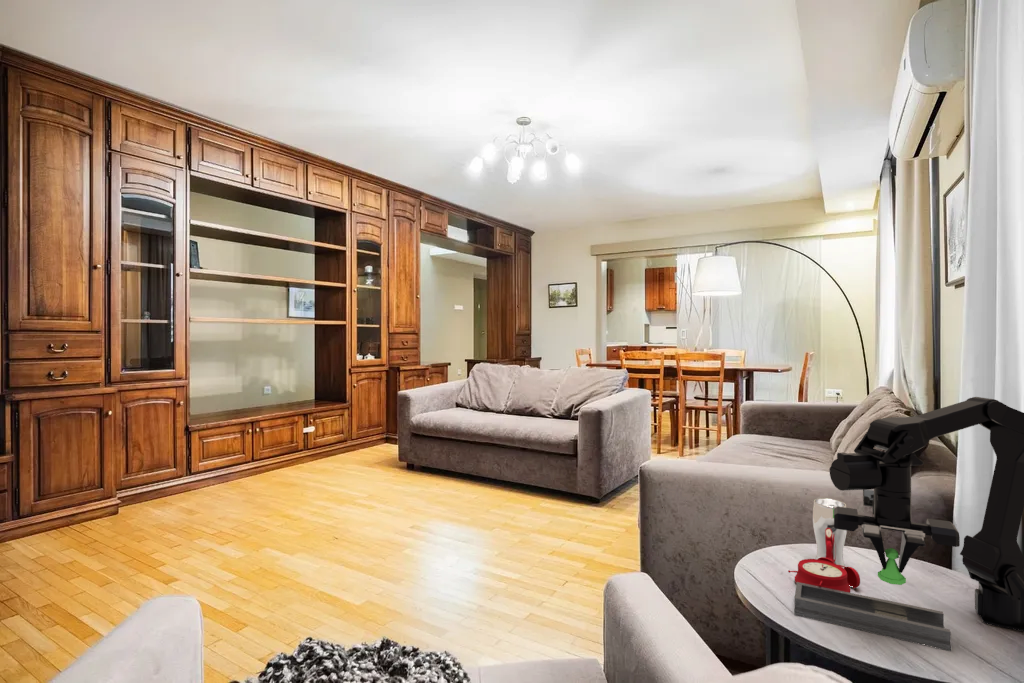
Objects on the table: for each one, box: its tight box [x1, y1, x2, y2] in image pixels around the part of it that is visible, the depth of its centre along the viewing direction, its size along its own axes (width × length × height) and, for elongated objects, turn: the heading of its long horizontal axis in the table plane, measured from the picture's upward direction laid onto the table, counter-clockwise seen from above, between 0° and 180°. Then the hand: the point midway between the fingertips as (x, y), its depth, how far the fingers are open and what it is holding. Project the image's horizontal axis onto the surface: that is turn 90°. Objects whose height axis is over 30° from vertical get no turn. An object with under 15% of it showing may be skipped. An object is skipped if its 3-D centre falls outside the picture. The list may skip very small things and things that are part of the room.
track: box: [794, 582, 952, 652], centre depth 101 cm, size 24×9×3 cm, turn 59°
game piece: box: [877, 547, 907, 586], centre depth 99 cm, size 4×4×6 cm
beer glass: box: [812, 497, 848, 568], centre depth 124 cm, size 7×7×15 cm
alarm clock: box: [787, 557, 861, 593], centre depth 115 cm, size 10×6×15 cm
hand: (892, 570), depth 99 cm, fingers closed on game piece, 2 cm apart
